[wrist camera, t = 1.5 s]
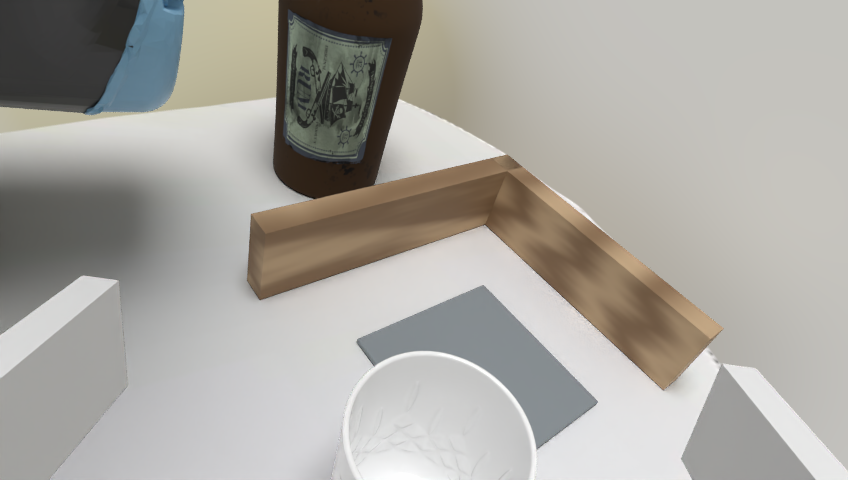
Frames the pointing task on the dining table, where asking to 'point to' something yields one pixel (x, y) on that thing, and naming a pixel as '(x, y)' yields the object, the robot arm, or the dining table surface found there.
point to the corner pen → (514, 224)
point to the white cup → (433, 424)
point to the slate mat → (491, 356)
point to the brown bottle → (339, 89)
